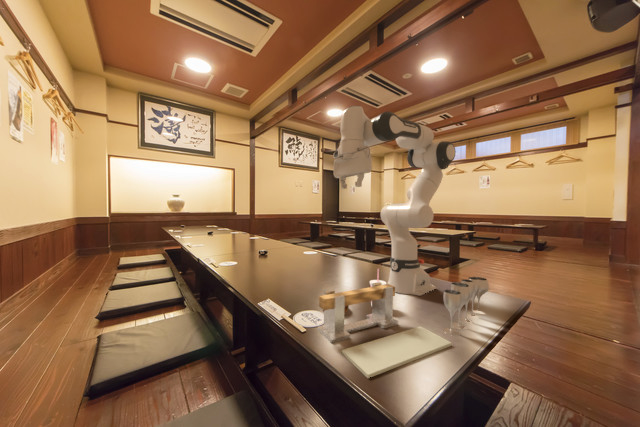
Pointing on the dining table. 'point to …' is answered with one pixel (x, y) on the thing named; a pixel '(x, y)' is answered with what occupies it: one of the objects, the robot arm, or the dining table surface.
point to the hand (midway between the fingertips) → (350, 187)
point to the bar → (354, 296)
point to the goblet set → (463, 298)
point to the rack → (339, 331)
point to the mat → (394, 350)
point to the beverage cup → (377, 282)
